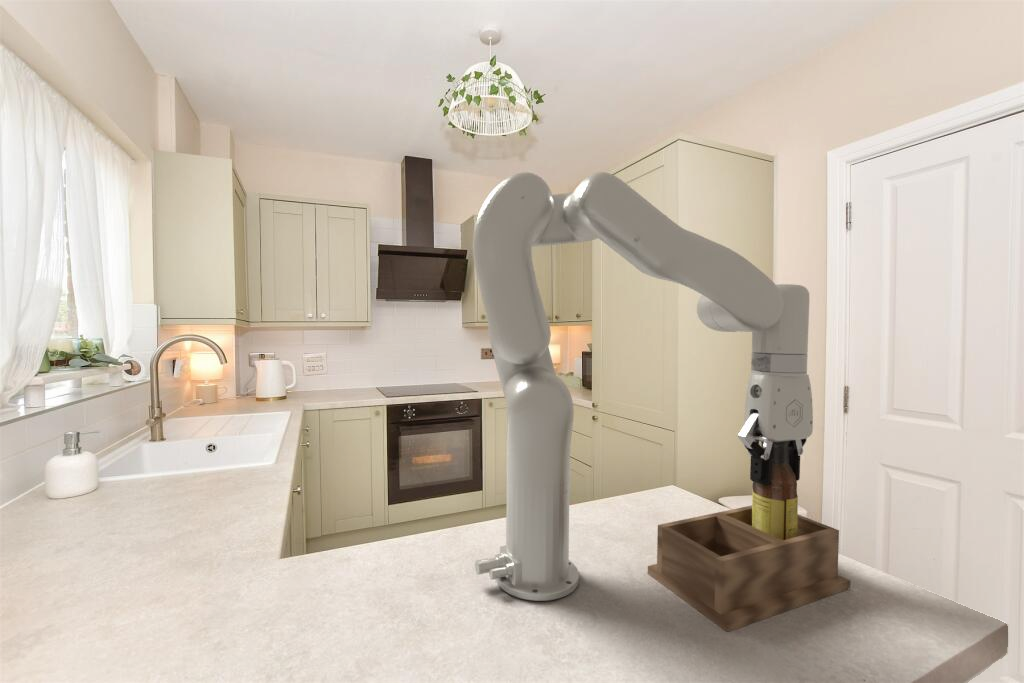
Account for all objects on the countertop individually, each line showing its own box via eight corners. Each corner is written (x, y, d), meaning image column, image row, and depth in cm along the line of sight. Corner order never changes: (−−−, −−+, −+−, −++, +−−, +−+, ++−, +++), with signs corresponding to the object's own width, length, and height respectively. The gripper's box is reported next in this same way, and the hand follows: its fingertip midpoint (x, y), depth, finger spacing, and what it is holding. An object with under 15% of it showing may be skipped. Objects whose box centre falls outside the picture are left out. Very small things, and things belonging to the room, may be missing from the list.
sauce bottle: (785, 550, 76) (790, 429, 75) (805, 570, 69) (811, 438, 69) (743, 547, 76) (748, 427, 76) (759, 566, 70) (764, 436, 70)
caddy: (727, 631, 58) (728, 567, 58) (647, 573, 72) (648, 521, 72) (850, 588, 69) (851, 533, 68) (759, 544, 82) (760, 499, 82)
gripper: (761, 368, 65) (757, 496, 65) (838, 365, 72) (834, 481, 72) (718, 364, 72) (714, 479, 72) (792, 362, 79) (788, 467, 79)
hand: (774, 479), depth 72 cm, fingers closed on sauce bottle, 5 cm apart
